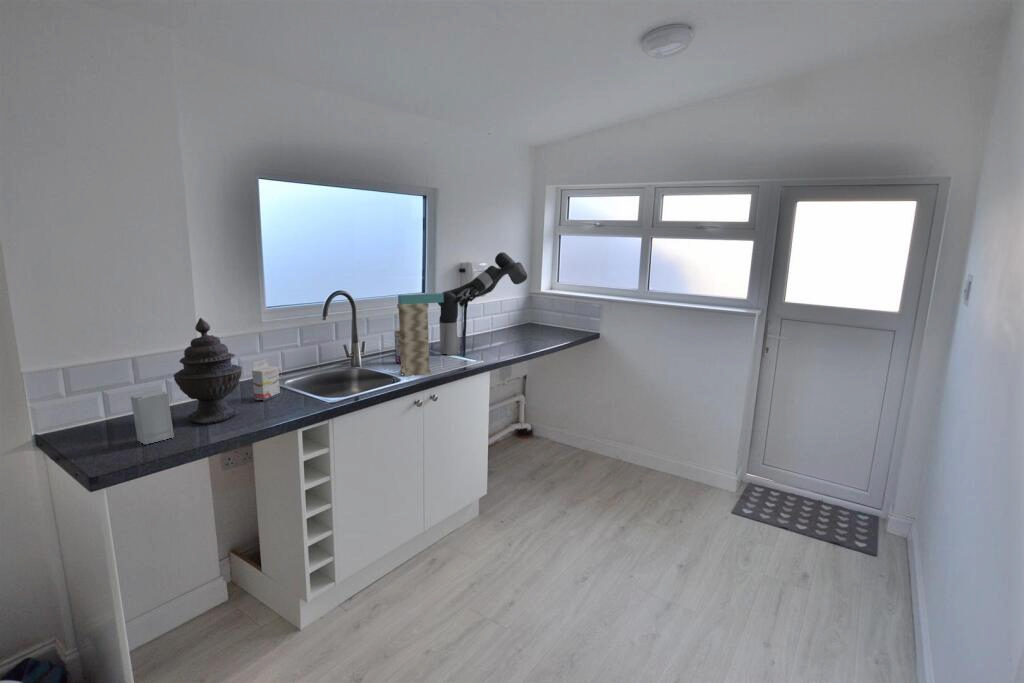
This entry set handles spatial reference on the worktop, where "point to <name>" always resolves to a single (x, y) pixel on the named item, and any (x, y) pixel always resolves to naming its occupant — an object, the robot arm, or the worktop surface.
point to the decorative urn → (208, 376)
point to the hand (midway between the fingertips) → (456, 304)
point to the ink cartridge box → (265, 379)
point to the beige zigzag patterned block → (414, 339)
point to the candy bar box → (397, 346)
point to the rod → (420, 298)
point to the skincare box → (152, 416)
